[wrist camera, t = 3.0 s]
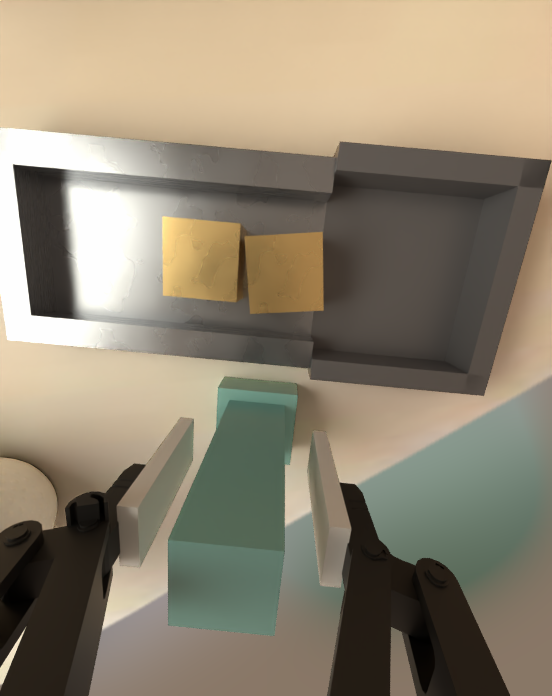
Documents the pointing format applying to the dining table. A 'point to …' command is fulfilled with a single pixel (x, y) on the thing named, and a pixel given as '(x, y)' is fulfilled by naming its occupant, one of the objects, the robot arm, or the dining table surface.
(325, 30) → the dining table surface
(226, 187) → the dark gray shallow tray
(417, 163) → the tray
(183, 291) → the chip
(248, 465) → the teal t-shaped block
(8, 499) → the mug
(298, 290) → the chip
